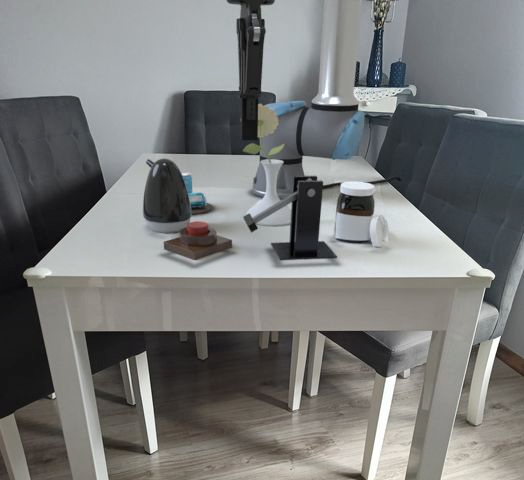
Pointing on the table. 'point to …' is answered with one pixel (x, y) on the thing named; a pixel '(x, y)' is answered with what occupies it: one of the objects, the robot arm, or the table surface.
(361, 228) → the spread jar
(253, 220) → the pivoting lever
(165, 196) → the pump dispenser
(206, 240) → the switch box
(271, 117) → the flower in vase
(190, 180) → the teal cans on tray
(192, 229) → the red push button
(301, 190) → the lever bracket
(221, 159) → the table surface
